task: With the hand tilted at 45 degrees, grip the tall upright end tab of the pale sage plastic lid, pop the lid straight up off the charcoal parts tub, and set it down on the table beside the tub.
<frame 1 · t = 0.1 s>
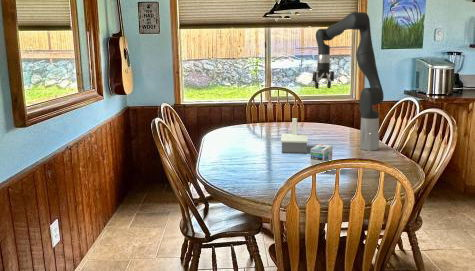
hand: (322, 88, 270), 29 cm above the table, tool pointing down, fingers open, 8 cm apart
tub: (294, 149, 236), on the table
light bulb box: (321, 170, 196), on the table
lid: (294, 138, 235), point 6 cm above the table, touching tub
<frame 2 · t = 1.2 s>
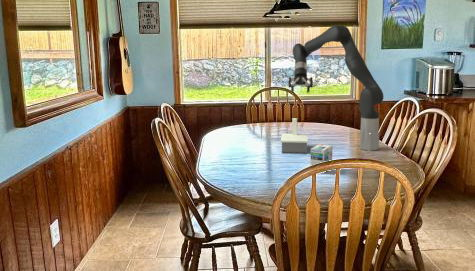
hand: (300, 92, 253), 29 cm above the table, tool tilted 45°, fingers open, 8 cm apart
nothing on the table moved.
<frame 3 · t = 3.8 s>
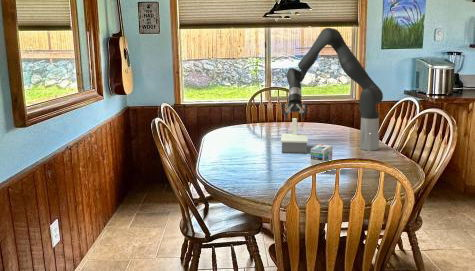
hand: (294, 119, 244), 15 cm above the table, tool tilted 45°, fingers open, 8 cm apart
nothing on the table moved.
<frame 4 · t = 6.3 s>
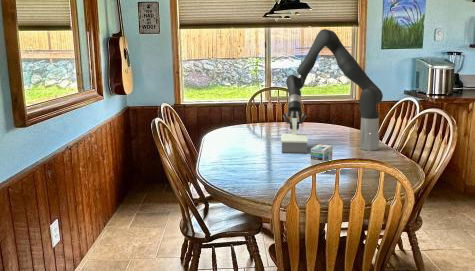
hand: (294, 128, 239), 10 cm above the table, tool tilted 45°, fingers closed on lid, 2 cm apart
lid: (294, 138, 235), point 6 cm above the table, touching gripper, tub
everything else where it was.
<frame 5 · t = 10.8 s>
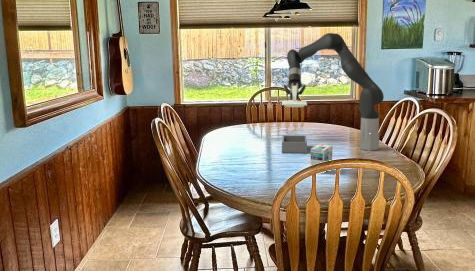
hand: (294, 99, 257), 24 cm above the table, tool tilted 45°, fingers closed on lid, 2 cm apart
lid: (294, 103, 252), point 23 cm above the table, touching gripper
everything else where it was.
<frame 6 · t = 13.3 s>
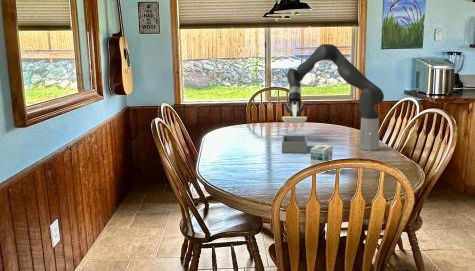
hand: (294, 117, 262), 13 cm above the table, tool tilted 45°, fingers closed on lid, 2 cm apart
lid: (294, 119, 256), point 13 cm above the table, tilted 15°, touching gripper
everything else where it was.
when the fingers open (7 cm above the table, at t = 15.1 s): lid drops 7 cm, point 1 cm above the table.
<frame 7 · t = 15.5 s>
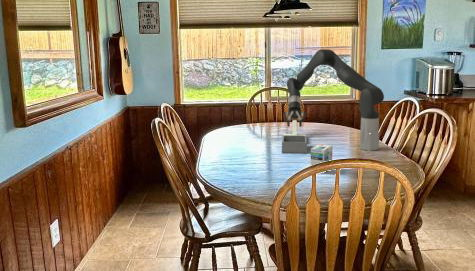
hand: (294, 126, 263), 7 cm above the table, tool tilted 45°, fingers open, 6 cm apart
lid: (294, 138, 258), point 1 cm above the table
everything else where it was.
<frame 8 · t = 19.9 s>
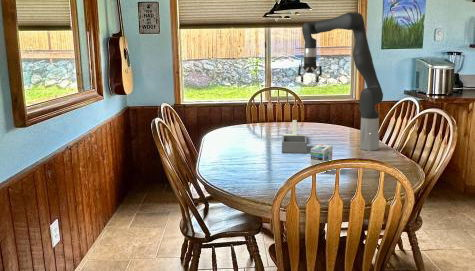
hand: (309, 82, 266), 33 cm above the table, tool pointing down, fingers open, 8 cm apart
nothing on the table moved.
at the end: lid touching table; lid inside the target area (1.1 cm from its centre), point 1.2 cm above the table; the gripper is holding nothing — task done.
